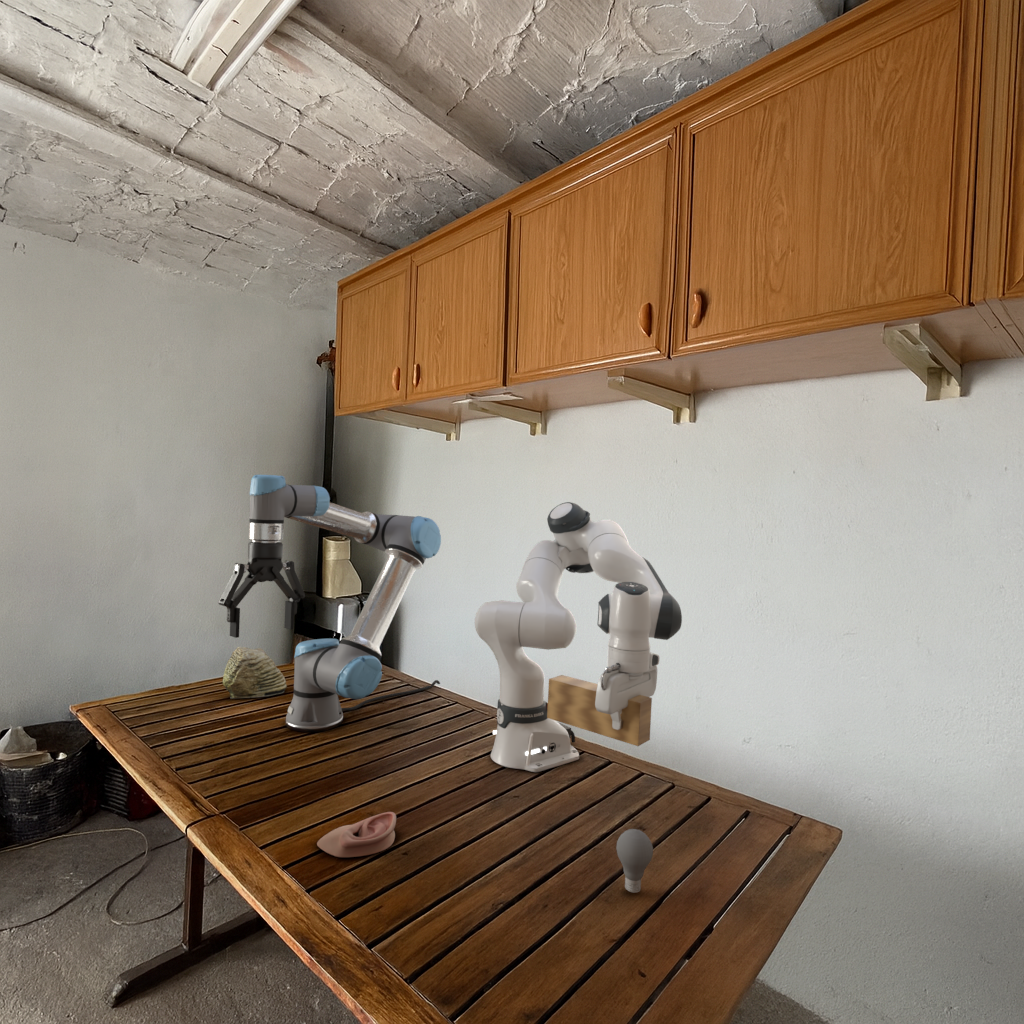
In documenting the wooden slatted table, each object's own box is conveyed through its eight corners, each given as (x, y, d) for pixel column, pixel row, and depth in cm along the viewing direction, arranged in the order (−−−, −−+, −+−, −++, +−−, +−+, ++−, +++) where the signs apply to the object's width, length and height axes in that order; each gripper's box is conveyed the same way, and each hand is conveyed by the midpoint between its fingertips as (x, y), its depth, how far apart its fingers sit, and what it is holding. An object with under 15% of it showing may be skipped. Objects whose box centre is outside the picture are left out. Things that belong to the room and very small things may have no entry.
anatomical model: (309, 830, 112) (339, 800, 124) (308, 852, 113) (338, 821, 124) (379, 841, 110) (403, 810, 121) (378, 864, 110) (402, 831, 121)
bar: (546, 717, 144) (548, 678, 144) (559, 712, 148) (561, 674, 148) (638, 746, 130) (640, 703, 129) (649, 739, 134) (652, 697, 133)
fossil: (218, 695, 195) (220, 647, 195) (278, 685, 208) (279, 640, 207) (228, 703, 189) (230, 653, 188) (289, 692, 201) (290, 645, 201)
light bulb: (610, 879, 108) (613, 822, 108) (644, 879, 109) (647, 822, 109) (619, 902, 102) (622, 840, 102) (655, 901, 103) (658, 840, 103)
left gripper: (221, 544, 135) (217, 643, 135) (321, 541, 154) (318, 628, 155) (204, 541, 139) (200, 637, 140) (304, 539, 159) (300, 623, 159)
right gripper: (616, 671, 124) (613, 741, 124) (663, 655, 140) (660, 717, 140) (589, 665, 128) (586, 733, 128) (637, 649, 144) (634, 710, 144)
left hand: (262, 632), depth 147 cm, fingers open, 13 cm apart
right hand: (625, 724), depth 134 cm, fingers closed on bar, 5 cm apart
